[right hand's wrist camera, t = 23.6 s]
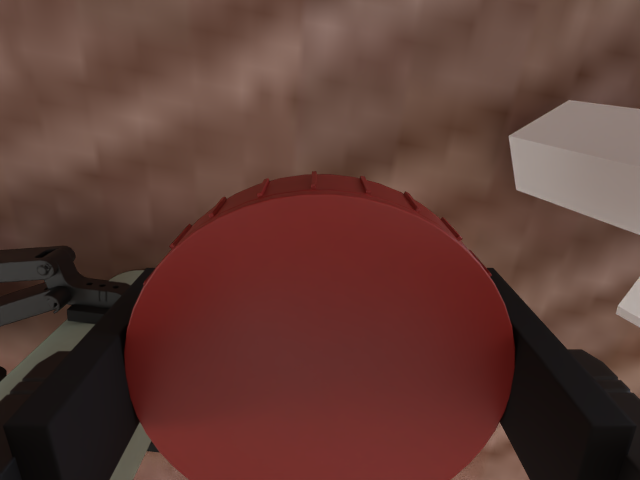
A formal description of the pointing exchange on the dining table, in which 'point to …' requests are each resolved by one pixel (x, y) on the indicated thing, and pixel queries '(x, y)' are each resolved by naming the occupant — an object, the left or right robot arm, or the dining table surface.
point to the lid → (319, 339)
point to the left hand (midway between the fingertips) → (180, 378)
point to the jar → (66, 341)
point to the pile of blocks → (585, 168)
